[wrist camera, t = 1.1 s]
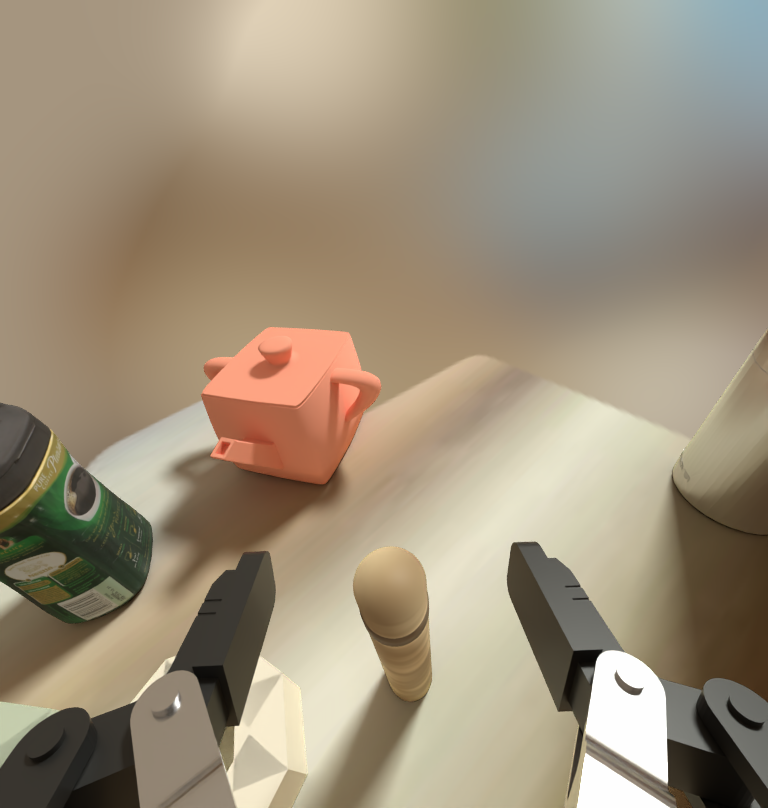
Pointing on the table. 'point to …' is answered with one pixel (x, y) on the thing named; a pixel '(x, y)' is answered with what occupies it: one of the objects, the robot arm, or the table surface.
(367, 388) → the teapot
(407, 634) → the grooved wooden dowel
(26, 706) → the sage bead
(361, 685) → the table surface
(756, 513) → the robot arm
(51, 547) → the coffee jar
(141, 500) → the table surface
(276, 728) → the cream octagonal ring
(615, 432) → the table surface
